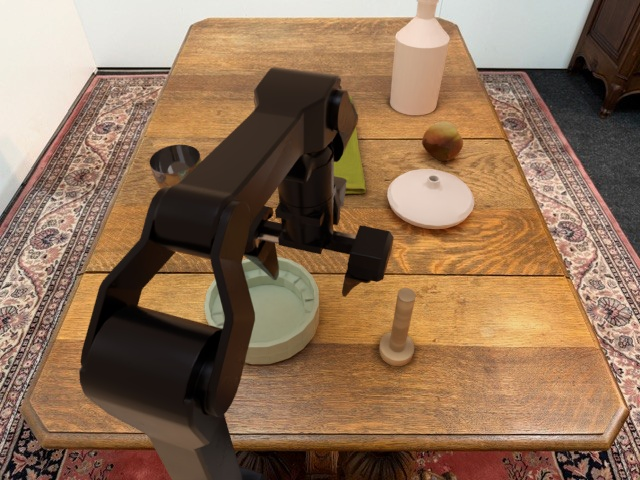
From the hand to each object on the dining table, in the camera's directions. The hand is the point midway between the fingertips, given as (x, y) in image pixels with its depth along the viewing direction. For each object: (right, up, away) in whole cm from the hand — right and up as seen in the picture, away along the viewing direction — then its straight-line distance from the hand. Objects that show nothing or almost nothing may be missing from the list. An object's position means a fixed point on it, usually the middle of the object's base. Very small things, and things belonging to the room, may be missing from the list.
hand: (310, 285), depth 60 cm
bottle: (+24, +39, +56) cm, 73 cm away
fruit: (+27, +23, +40) cm, 54 cm away
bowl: (-7, -6, +12) cm, 15 cm away
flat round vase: (+22, +12, +29) cm, 38 cm away
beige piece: (+12, -10, +7) cm, 17 cm away
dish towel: (+2, +27, +44) cm, 52 cm away
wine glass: (-22, +8, +26) cm, 35 cm away
